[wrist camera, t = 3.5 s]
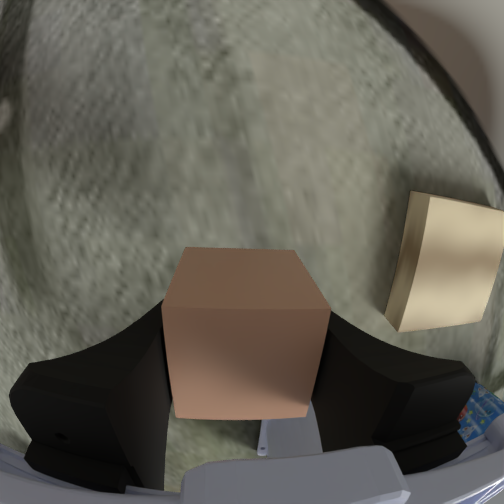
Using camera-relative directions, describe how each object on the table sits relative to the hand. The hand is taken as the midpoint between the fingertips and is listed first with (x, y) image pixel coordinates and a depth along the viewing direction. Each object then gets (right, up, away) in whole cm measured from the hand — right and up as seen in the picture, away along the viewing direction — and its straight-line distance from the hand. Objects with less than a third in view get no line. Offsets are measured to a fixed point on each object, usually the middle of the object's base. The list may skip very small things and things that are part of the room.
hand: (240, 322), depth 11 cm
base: (+16, +2, +9) cm, 19 cm away
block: (0, +1, +2) cm, 2 cm away
